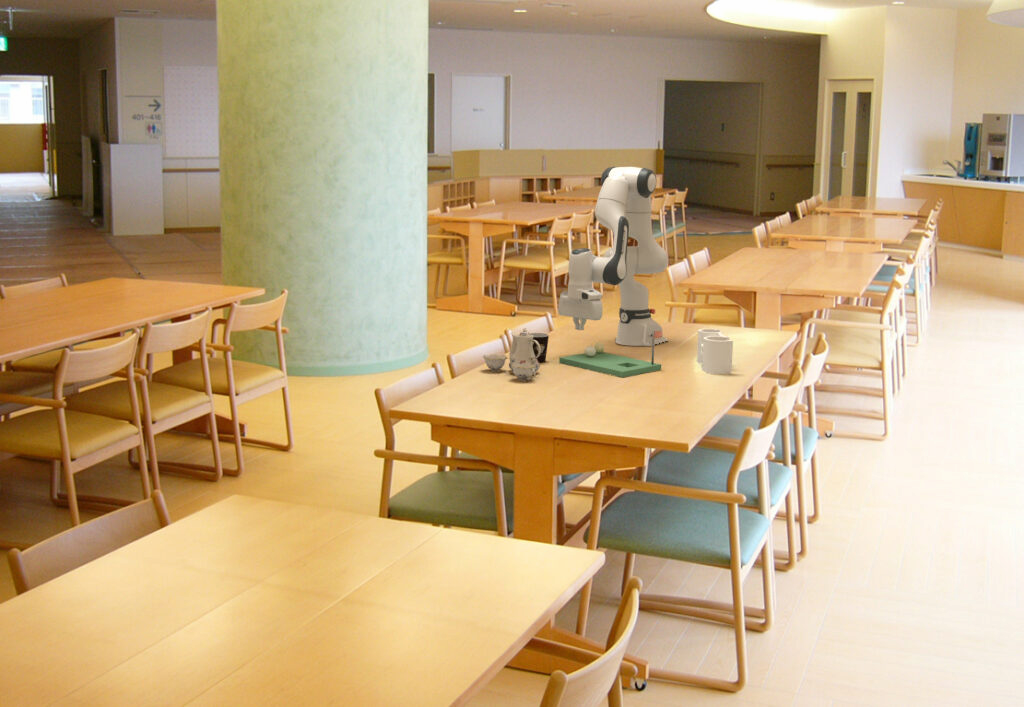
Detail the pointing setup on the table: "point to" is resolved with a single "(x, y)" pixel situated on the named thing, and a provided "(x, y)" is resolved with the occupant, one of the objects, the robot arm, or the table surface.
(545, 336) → the coffee mug
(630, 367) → the green
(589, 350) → the ball
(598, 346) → the ball
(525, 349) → the chinaware
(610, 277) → the robot arm
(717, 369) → the cylindrical containers
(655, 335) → the pin
